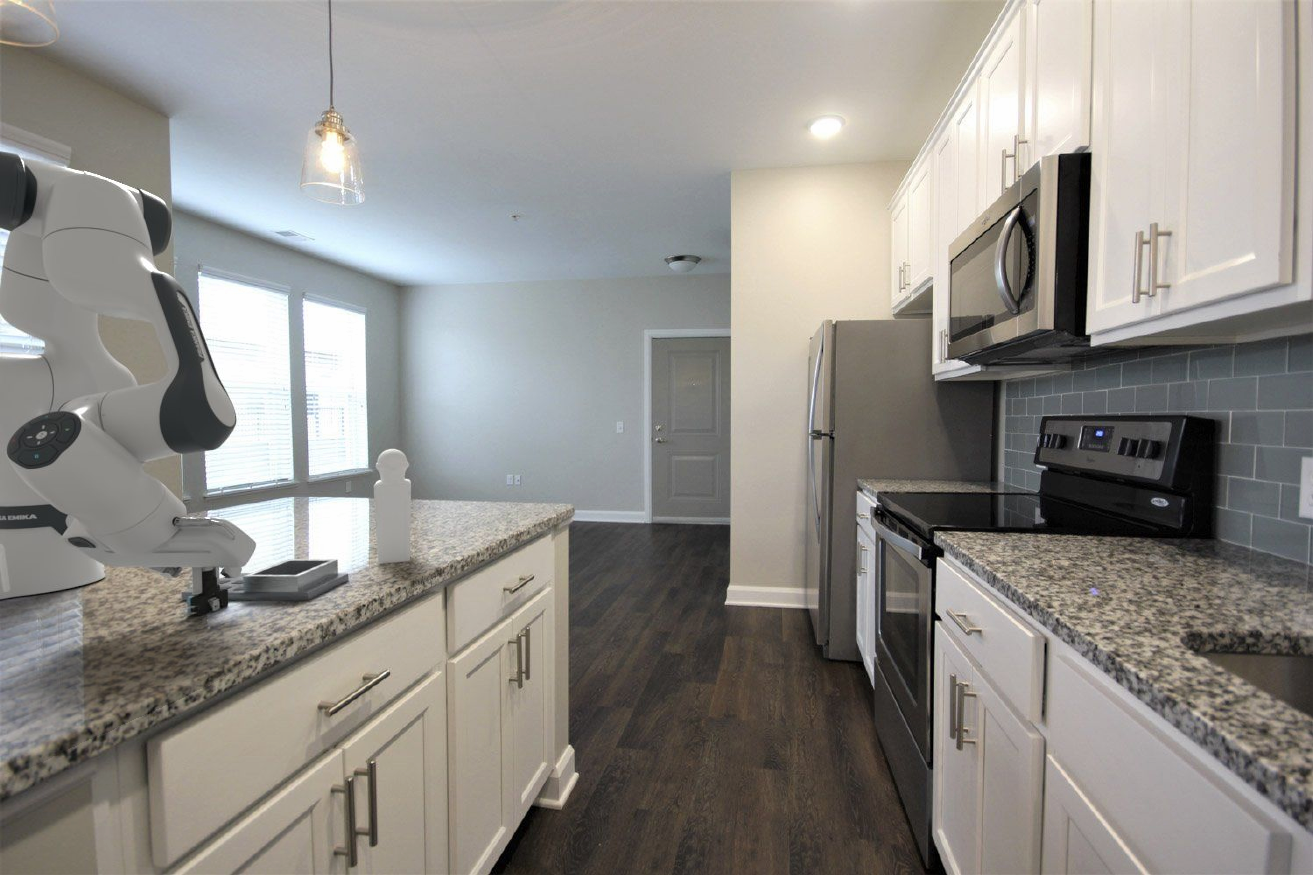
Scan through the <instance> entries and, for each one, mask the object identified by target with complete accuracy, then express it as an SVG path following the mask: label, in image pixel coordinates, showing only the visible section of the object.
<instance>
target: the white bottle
mask: <svg viewBox="0 0 1313 875" xmlns="http://www.w3.org/2000/svg"><path fill="white" fill-rule="evenodd" d="M409 466H410V462H408V458H407V456H406V454H405V453H404V452H403V451H401V450H400V449H396V448H389V449H385V450H384V451H382V452H381V453H380V454H379V456H378V457H377V460H376V463H375V468H376V470H377V471H378V474H379V476H380V479H379V480H377V481H376V482H375V483H374V484H373V499H374V517H375V533H376V534H375V535H376V550H377V551H376V552H377V553H376V554H377V563H378V565H385V564H393V563H395V564H396V563H405V562H406V563H407V562H411V515H412V514H411V513H412V511H411V510H412V507H411V506H412V504H411V503H412V499H411V498H412V497H411V496H412V481H411V479H409V478H406V477H405V476H406V472H407V469H408V468H409Z"/></svg>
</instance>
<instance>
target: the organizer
mask: <svg viewBox="0 0 1313 875" xmlns="http://www.w3.org/2000/svg"><path fill="white" fill-rule="evenodd" d="M219 579H220V584H221V587H220V589H227V590H228V601H310V600H312V599H315V598H316V597H318V596H320V595H322V594H324V593H326V592H328V591H330V590H332V589H334V588H336V587H338V586H340V585H342V584H344V583H346V582H348V581H349V573H344V572H343V573H340V572H339V563H338V559H325V558H324V559H323V558H322V559H320V558H319V559H316V558H314V559H312V558H308V559H307V558H306V559H305V558H304V559H303V558H302V559H299V558H296V559H295V558H292V559H285V560H283V561H280V562H278V563H275V564H271V565H270V566H267V567H264V568H261V569H259V570H256V571H254V572H250V573H249V572H241V573H240V575H239V576H238V578H225V576H223V577H221V578H220V577H219ZM192 592H193V587H192V588H189V589H187V590H183V591H181V601H187V598H188V597H190V596H193V594H192Z"/></svg>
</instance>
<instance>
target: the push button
mask: <svg viewBox="0 0 1313 875" xmlns="http://www.w3.org/2000/svg"><path fill="white" fill-rule="evenodd" d="M191 568H192V569H191V570H192V588H193V592H192V594H193V596H190V597H188V598H187V600H186V607H183V608H180V609H179V610H180V611H186V610H187V611H186V613H184V614H182V615H180V618H181V617H183V618H184V617H188V616H194V617H195V616H196V617H197V616H199V617H200V616H204V615H206V614H208V613H211V612H215V611H217V610H220V609H222V608H227V607H228V606H229V600H228V590H227V589H220V587H221V584H220V567H191Z"/></svg>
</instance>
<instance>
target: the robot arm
mask: <svg viewBox="0 0 1313 875" xmlns="http://www.w3.org/2000/svg"><path fill="white" fill-rule="evenodd" d="M173 226H174V224H173V219H172V214H171V210H170V208H169V207H168V205H167V204H166V202H165V201H164V200H163V199H161V198H160V197H158V196H157V195H154V194H152V193H150V192H148V191H145V190H143V189H141V188H138V187H137V188H133V187H131V186H128V185H126V184H122V183H120V182H118V181H115V180H112V179H109V178H106V177H104V176H101V175H98V174H95V173H91V172H90V171H89V172H88V171H85V170H77V169H73V168H70V167H66V166H62V165H59V164H55V163H49V162H45V161H41V160H40V161H39V160H36V159H30V158H25V157H21V155H20V154H18V153H13V152H8V151H7V152H6V151H3V150H1V151H0V229H2V230H4V231H8V232H9V234H8V237H7V242H6V244H5V248H4V253H3V258H2V259H3V260H2V266H1V275H0V276H1V277H0V315H1V317H2V318H3V320H4V321H5V322H6V323H7V324H8V325H10V326H12V327H13V328H15V329H17V330H19V331H21V332H23V333H24V334H27V335H29V336H31V337H33V338H36V339H38V340H41V341H43V342H44V350H43V353H37V354H32V353H19V352H4V351H0V600H4V599H9V598H16V597H22V596H23V597H24V596H30V595H31V596H32V595H37V594H38V595H39V594H45V593H50V592H56V591H63V590H66V589H71V588H75V587H79V586H84V585H89V584H91V583H94V582H97V581H99V580H102V579H104V578H105V577H106V573H105V571H106V566H109V567H111V568H112V567H114V568H125V567H126V568H142V569H145V570H148V571H151V572H155V573H157V574H159V575H160V576H162V577H163V578H164V579H176V578H178V577H179V576H180V573H181V572H182V571H183V568H192V567H219V569H220V568H221V571H220V572H219V575H220V574H221V576H223V577H225V578H238V576H239V575H240V573H242V571H243V567H245V566H246V565H247V564H248V563H249V561H250V560H251V558H252V556H253V554H254V553H255V550H256V548H257V542H256V541H255V540H254V539H253V538H252V537H251V536H249V535H248V534H247V533H246V532H245V531H243V530H242V529H241V528H240V527H238V526H237V525H235V524H234V523H233V522H231V521H229V520H227V519H225V518H221V517H216V516H214V517H213V516H206V517H204V516H203V517H202V516H200V517H199V516H195V517H194V516H192V517H191V516H189V517H188V513H187V512H188V511H187V507H186V505H185V504H184V503H183V502H182V500H180V499H179V498H178V496H176V495H175V494H174V493H173V492H172V491H171V490H170V489H169V488H168V487H167V486H166V485H165V484H163V483H162V482H161V481H160V480H159V479H158V478H156V477H154V476H152V475H150V474H148V473H147V472H146V471H145V470H144V469H145V466H146V463H147V462H151V461H156V460H160V459H165V458H169V457H174V456H179V455H186V454H187V455H188V454H195V453H200V452H210V451H214V450H217V449H219V448H220V447H221V446H222V445H223V444H224V443H225V442H226V441H227V440H228V438H229V437H230V436H231V434H232V433H233V431H234V429H235V428H236V425H237V414H236V410H235V407H234V405H233V402H232V400H231V398H230V396H229V393H228V392H227V389H226V388H225V386H224V384H223V383H222V382H223V381H221V378H220V377H219V373H218V371H217V368H216V365H215V363H214V361H213V358H212V355H211V353H210V348H209V347H208V344H207V341H206V339H205V335H204V333H203V330H202V327H201V325H200V322H199V320H198V317H197V314H196V312H195V309H194V307H193V305H192V303H191V301H190V298H189V296H188V295H187V293H186V292H185V290H184V289H183V286H181V284H180V283H179V282H178V281H177V279H175V278H174V277H173V276H172V275H170V274H169V273H167V272H163V271H159V270H158V268H157V266H156V264H155V260H154V257H156V256H158V255H160V254H162V253H164V252H165V251H166V249H167V247H168V246H169V243H170V241H171V239H172V236H173V231H174V230H173V229H174V228H173ZM99 315H102V316H106V317H110V318H116V319H127V320H135V321H140V322H147V323H151V324H152V325H153V328H154V331H155V333H156V336H157V340H158V342H159V345H160V348H161V351H162V354H163V357H164V360H165V363H166V366H167V369H168V370H167V372H166V374H165V375H164V377H161V379H160V380H158V381H155V382H150V383H147V384H146V383H145V384H141V385H138V382H137V379H136V378H135V375H134V374H133V373H132V372H131V371H130V369H129V368H127V366H125V365H123V364H122V363H120V362H119V361H118V360H117V359H116V358H114V356H112V354H110V353H109V351H108V350H107V349H106V347H105V345H104V343H103V342H102V338H101V337H100V334H99V326H98V324H99V322H98V319H99Z"/></svg>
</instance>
